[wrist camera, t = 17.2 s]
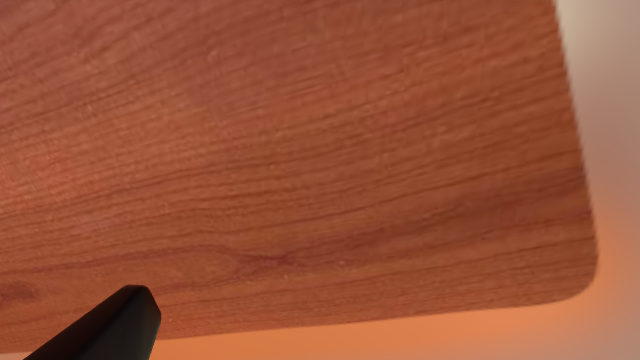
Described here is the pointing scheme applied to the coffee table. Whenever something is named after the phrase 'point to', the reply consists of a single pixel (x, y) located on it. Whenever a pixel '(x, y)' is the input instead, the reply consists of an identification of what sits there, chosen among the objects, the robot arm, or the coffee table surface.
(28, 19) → the coffee table surface
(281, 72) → the coffee table surface
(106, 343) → the robot arm
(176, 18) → the coffee table surface
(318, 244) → the coffee table surface
